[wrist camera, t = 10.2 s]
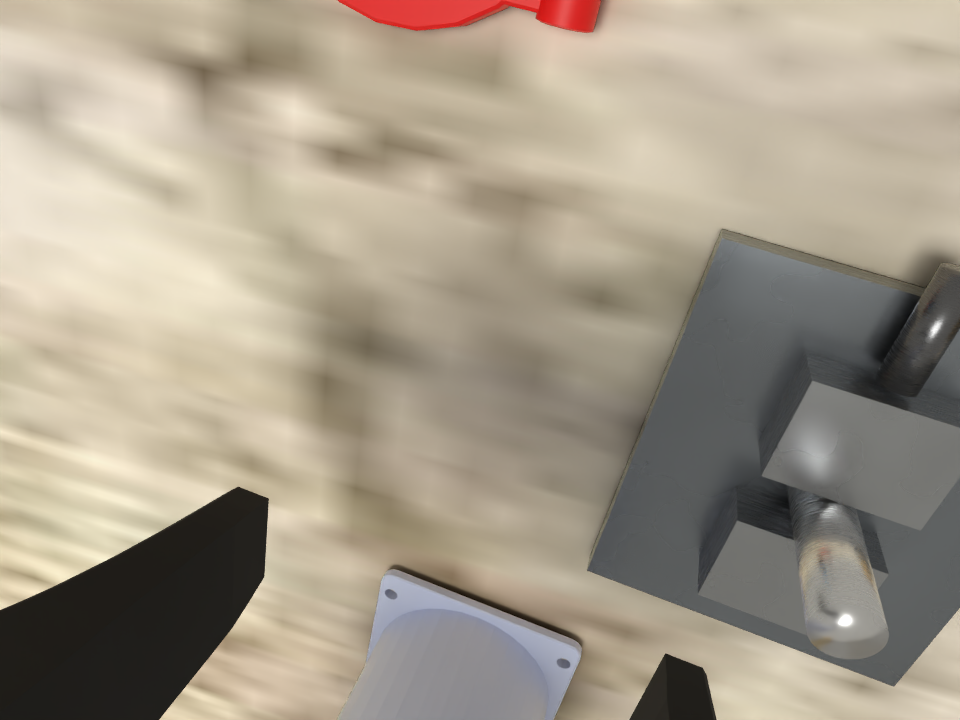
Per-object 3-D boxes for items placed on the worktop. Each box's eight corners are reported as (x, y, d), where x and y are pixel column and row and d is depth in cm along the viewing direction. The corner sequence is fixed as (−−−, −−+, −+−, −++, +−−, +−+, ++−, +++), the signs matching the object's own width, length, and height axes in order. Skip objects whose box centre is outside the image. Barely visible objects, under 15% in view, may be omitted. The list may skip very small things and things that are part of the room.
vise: (888, 665, 23) (938, 862, 17) (591, 554, 24) (556, 704, 19) (1172, 314, 16) (1385, 465, 11) (736, 191, 17) (744, 273, 12)
